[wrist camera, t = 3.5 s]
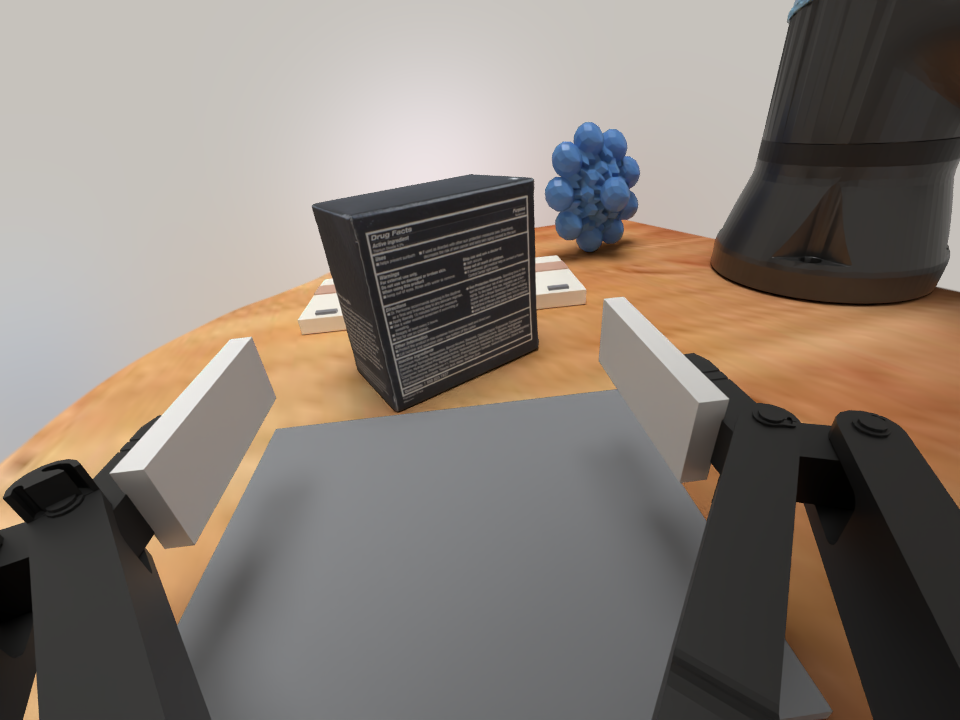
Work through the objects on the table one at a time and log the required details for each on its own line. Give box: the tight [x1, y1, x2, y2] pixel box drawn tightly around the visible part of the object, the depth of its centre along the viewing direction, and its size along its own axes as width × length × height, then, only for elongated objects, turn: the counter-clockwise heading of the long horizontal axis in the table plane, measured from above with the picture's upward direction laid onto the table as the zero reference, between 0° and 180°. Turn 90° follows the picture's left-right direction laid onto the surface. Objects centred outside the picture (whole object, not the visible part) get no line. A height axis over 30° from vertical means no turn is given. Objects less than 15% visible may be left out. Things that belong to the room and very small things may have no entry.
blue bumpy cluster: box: [545, 122, 640, 252], centre depth 40 cm, size 12×7×12 cm, turn 120°
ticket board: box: [298, 255, 586, 334], centre depth 36 cm, size 22×9×1 cm, turn 95°
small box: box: [312, 174, 539, 412], centre depth 25 cm, size 11×6×10 cm, turn 125°
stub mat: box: [177, 389, 833, 720], centre depth 16 cm, size 18×14×1 cm
